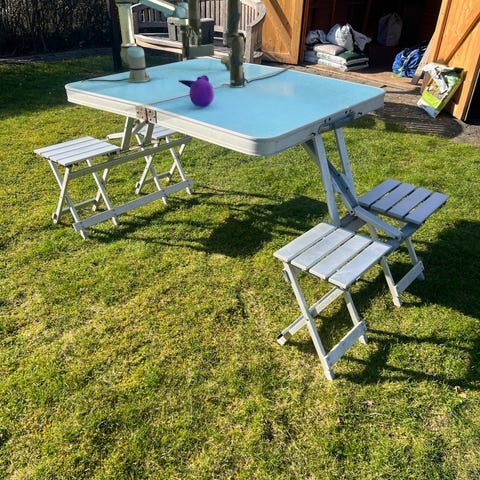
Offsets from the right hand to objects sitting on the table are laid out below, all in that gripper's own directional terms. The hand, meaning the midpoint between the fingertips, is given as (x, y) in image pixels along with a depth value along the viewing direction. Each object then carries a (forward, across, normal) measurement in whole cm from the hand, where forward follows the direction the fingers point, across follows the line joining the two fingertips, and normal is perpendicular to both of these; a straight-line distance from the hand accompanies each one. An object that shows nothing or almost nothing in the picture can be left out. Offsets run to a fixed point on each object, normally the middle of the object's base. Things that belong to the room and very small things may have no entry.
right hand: (196, 45), depth 290 cm
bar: (+18, +70, -37) cm, 81 cm away
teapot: (+29, +57, -61) cm, 88 cm away
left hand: (+17, +72, -27) cm, 79 cm away
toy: (+29, -33, +18) cm, 47 cm away
